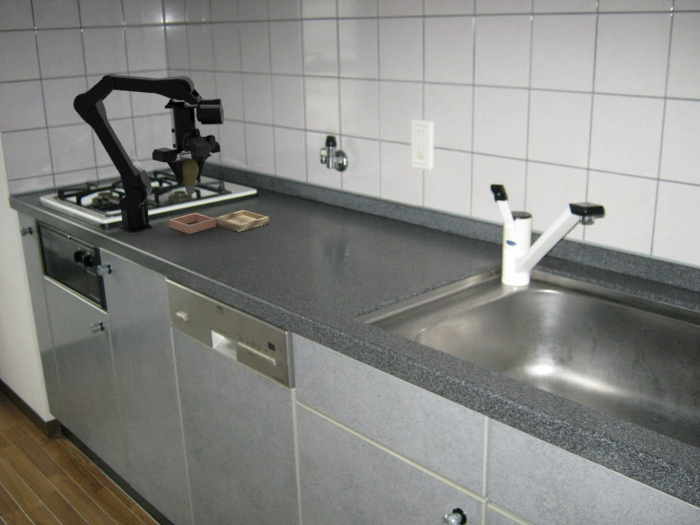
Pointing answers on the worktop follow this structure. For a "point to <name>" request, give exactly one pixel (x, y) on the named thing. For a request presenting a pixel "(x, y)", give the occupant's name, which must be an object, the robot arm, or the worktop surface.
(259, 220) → the tray
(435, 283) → the worktop surface
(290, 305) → the worktop surface
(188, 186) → the light bulb
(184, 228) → the shallow square box
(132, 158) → the ice cream cone
